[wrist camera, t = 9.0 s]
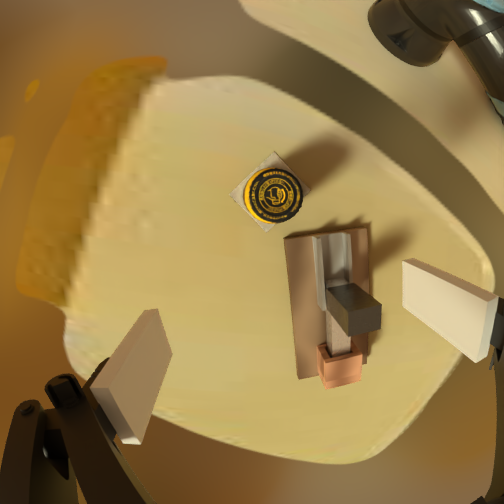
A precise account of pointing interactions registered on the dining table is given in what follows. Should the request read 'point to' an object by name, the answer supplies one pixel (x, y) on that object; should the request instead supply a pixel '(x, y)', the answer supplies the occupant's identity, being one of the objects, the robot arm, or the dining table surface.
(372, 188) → the dining table surface
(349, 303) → the mallet
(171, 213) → the dining table surface
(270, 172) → the condiment
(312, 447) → the dining table surface
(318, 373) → the rail slide board
